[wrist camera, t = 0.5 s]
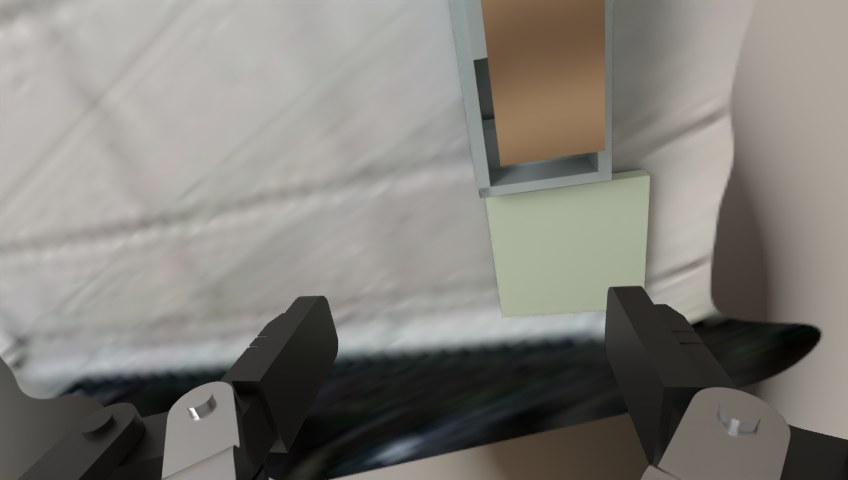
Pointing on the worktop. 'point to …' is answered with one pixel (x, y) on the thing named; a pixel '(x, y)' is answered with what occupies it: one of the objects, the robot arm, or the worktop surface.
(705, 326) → the worktop surface
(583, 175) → the pale blue tray
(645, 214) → the plate
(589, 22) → the walnut bar
